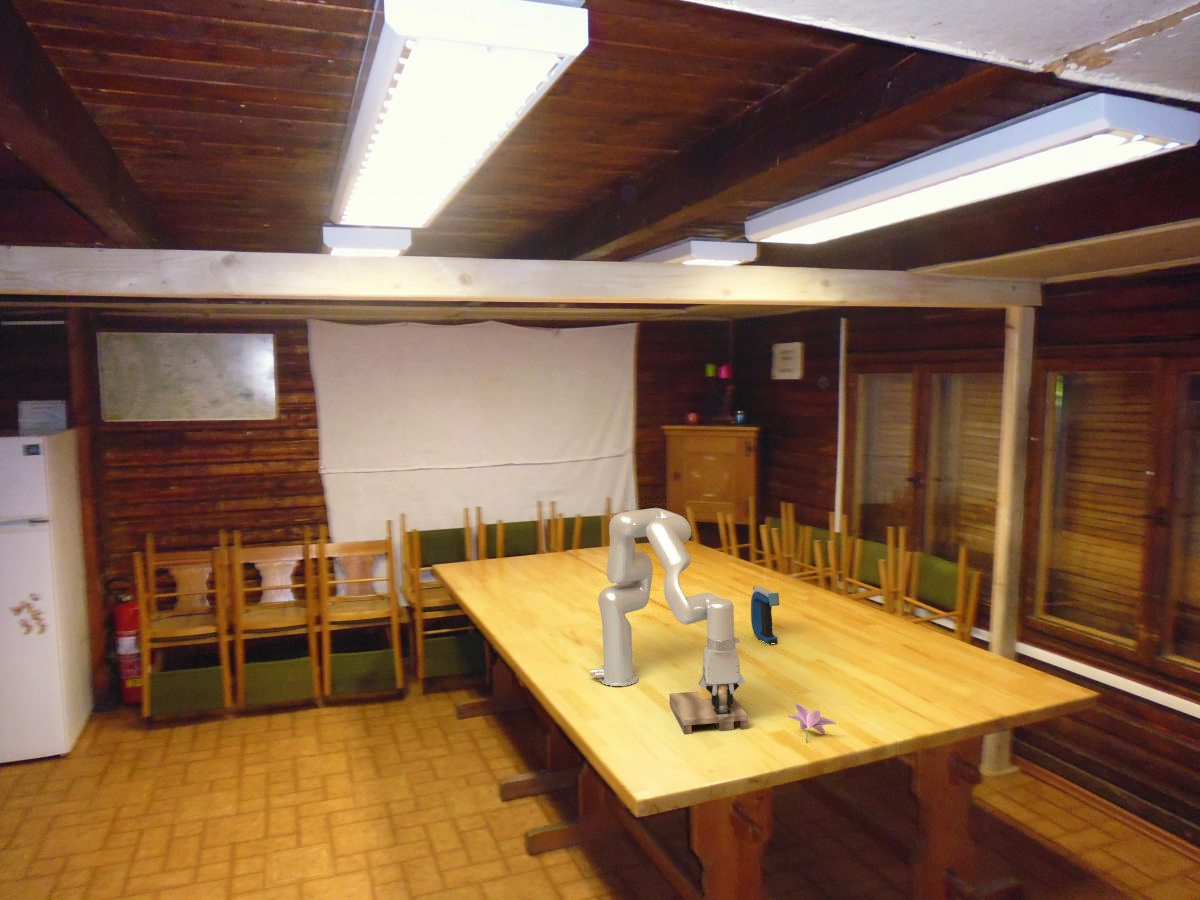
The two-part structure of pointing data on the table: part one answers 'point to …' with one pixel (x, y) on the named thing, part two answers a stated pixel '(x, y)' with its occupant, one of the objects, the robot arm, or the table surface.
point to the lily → (810, 719)
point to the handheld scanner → (763, 613)
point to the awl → (722, 699)
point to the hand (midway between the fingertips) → (722, 706)
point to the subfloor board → (704, 712)
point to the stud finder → (703, 692)
